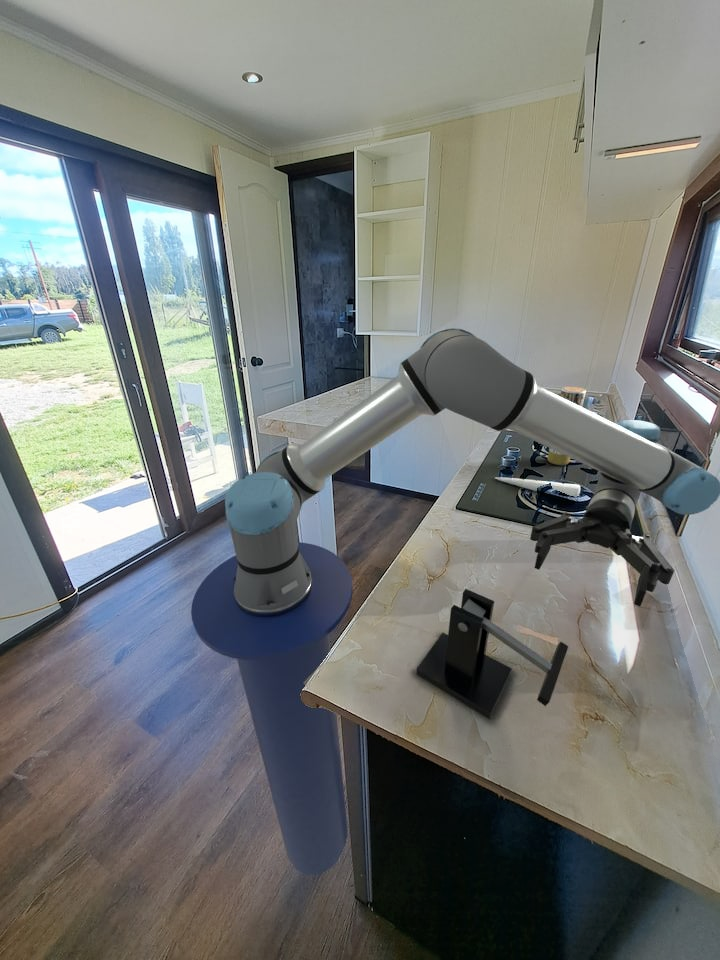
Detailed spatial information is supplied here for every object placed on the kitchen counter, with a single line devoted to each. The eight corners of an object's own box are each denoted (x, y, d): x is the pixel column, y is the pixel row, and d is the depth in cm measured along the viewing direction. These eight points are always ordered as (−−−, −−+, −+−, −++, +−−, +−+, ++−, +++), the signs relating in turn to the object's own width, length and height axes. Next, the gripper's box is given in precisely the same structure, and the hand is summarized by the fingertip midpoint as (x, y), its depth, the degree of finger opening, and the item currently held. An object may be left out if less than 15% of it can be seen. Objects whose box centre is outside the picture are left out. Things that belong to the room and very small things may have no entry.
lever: (562, 652, 54) (571, 643, 52) (542, 709, 47) (552, 700, 45) (474, 593, 60) (479, 583, 58) (444, 635, 53) (450, 625, 51)
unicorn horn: (499, 475, 123) (501, 461, 121) (579, 498, 109) (583, 483, 106) (492, 480, 120) (494, 466, 118) (574, 505, 106) (578, 489, 103)
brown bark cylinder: (557, 456, 135) (573, 385, 123) (573, 464, 129) (591, 390, 118) (542, 460, 133) (556, 388, 121) (557, 467, 127) (574, 392, 116)
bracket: (510, 673, 61) (526, 604, 54) (489, 719, 54) (504, 647, 48) (442, 637, 67) (448, 571, 61) (416, 674, 61) (419, 605, 54)
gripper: (684, 556, 67) (681, 636, 52) (535, 513, 81) (500, 567, 66) (700, 520, 64) (701, 595, 49) (542, 482, 78) (506, 531, 63)
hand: (585, 579), depth 57 cm, fingers open, 13 cm apart
